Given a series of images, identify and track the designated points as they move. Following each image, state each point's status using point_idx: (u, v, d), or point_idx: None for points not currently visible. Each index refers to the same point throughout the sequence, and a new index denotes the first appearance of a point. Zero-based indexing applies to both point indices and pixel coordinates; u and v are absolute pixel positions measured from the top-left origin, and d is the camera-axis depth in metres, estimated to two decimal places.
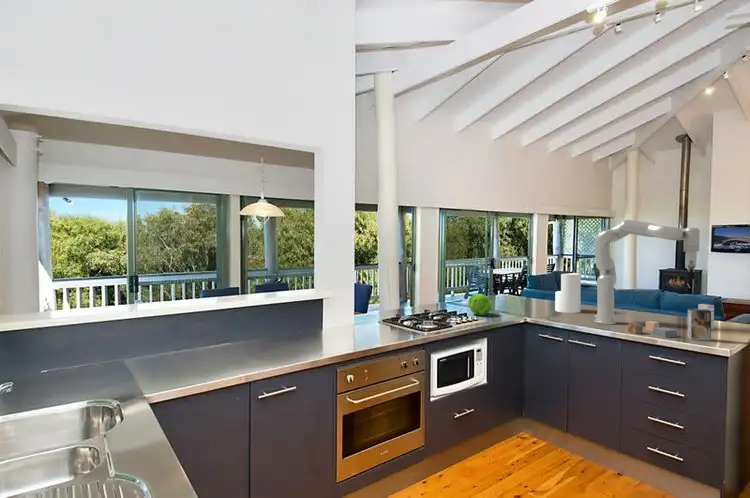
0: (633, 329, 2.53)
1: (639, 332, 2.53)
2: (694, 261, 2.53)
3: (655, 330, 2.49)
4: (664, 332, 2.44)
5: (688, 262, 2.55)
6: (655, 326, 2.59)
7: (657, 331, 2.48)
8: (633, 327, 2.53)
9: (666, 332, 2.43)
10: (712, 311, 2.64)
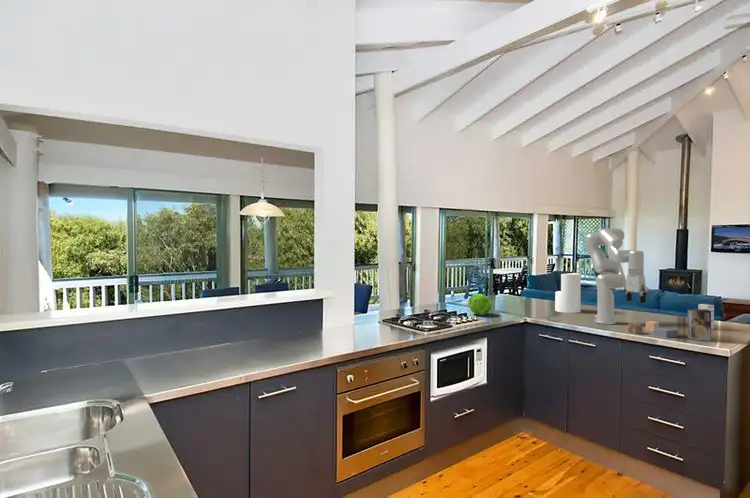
0: (633, 329, 2.53)
1: (639, 332, 2.53)
2: (644, 285, 2.50)
3: (656, 330, 2.49)
4: (665, 332, 2.43)
5: (641, 286, 2.49)
6: (655, 326, 2.59)
7: (658, 331, 2.48)
8: (633, 327, 2.53)
9: (667, 332, 2.43)
10: (712, 311, 2.64)
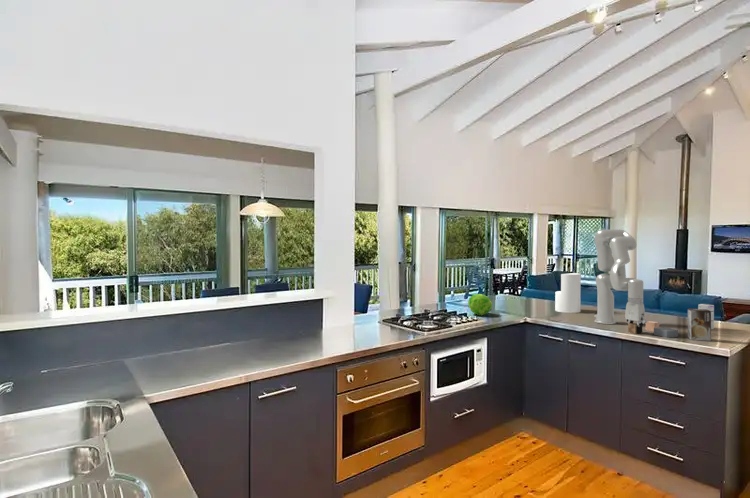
0: (633, 328, 2.53)
1: None
2: (644, 314, 2.51)
3: (656, 330, 2.49)
4: (666, 332, 2.43)
5: (640, 317, 2.50)
6: (655, 326, 2.59)
7: (658, 331, 2.47)
8: (633, 327, 2.53)
9: (668, 332, 2.43)
10: (712, 311, 2.64)
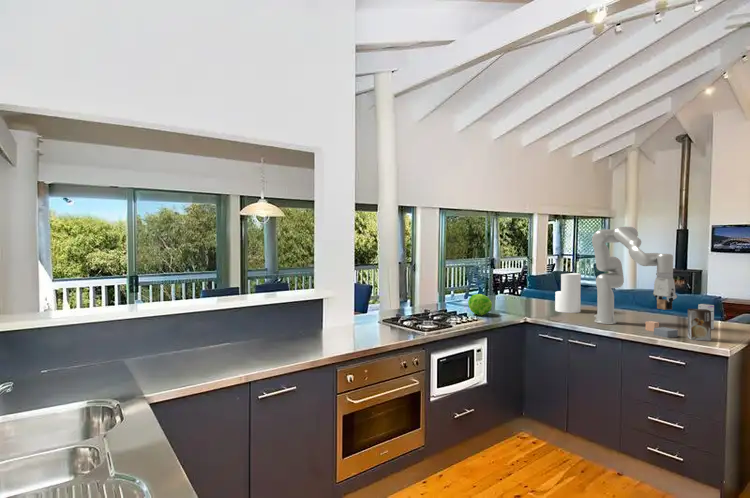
0: (662, 304, 2.46)
1: None
2: (674, 289, 2.43)
3: (656, 330, 2.48)
4: (666, 332, 2.43)
5: (670, 292, 2.42)
6: (655, 326, 2.59)
7: (658, 331, 2.47)
8: (662, 303, 2.46)
9: (668, 333, 2.43)
10: (712, 311, 2.64)
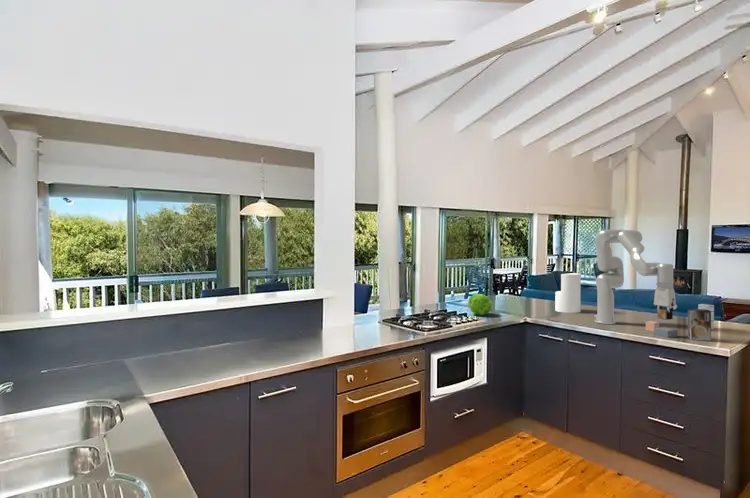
0: (663, 314, 2.46)
1: None
2: (675, 299, 2.43)
3: (656, 330, 2.48)
4: (666, 332, 2.43)
5: (671, 302, 2.42)
6: (655, 326, 2.59)
7: (659, 331, 2.47)
8: (663, 312, 2.46)
9: (668, 333, 2.43)
10: (712, 311, 2.64)
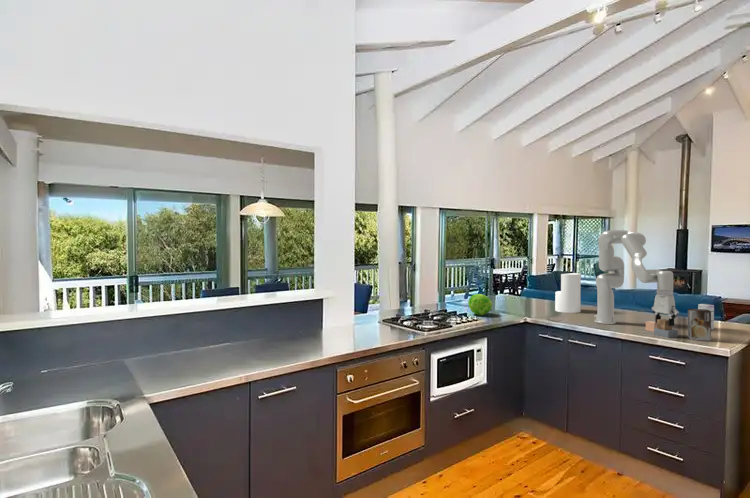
0: (662, 324, 2.46)
1: (669, 328, 2.46)
2: (674, 306, 2.43)
3: (657, 330, 2.48)
4: (667, 332, 2.43)
5: (670, 308, 2.42)
6: (655, 326, 2.59)
7: (659, 331, 2.47)
8: (662, 323, 2.46)
9: (669, 333, 2.43)
10: (712, 311, 2.64)
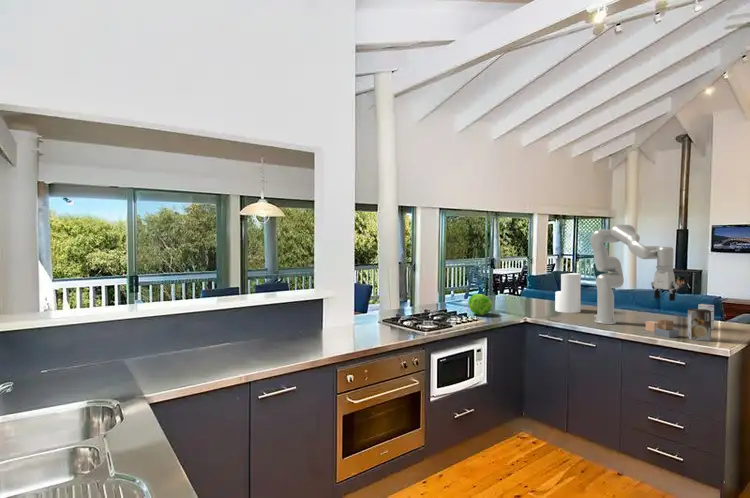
0: (663, 325, 2.46)
1: (670, 328, 2.45)
2: (674, 282, 2.43)
3: (657, 330, 2.48)
4: (668, 332, 2.43)
5: (670, 283, 2.42)
6: (655, 326, 2.59)
7: (660, 331, 2.47)
8: (663, 323, 2.46)
9: (670, 333, 2.43)
10: (712, 311, 2.64)
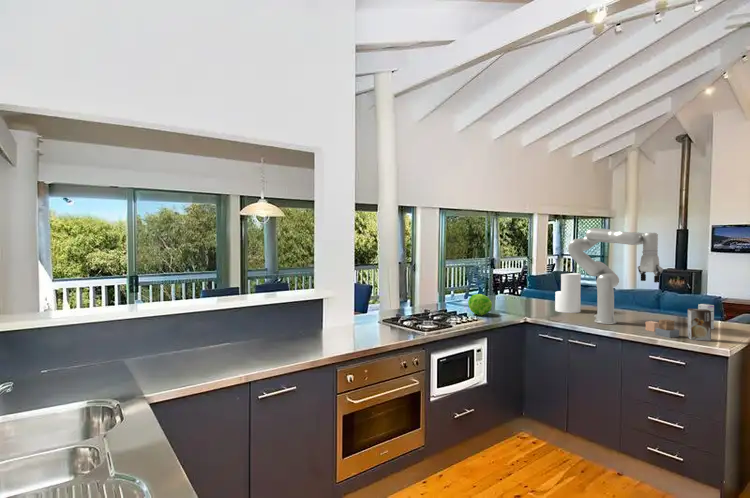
0: (664, 325, 2.46)
1: (671, 328, 2.45)
2: (658, 265, 2.62)
3: (658, 330, 2.48)
4: (668, 332, 2.43)
5: (655, 266, 2.61)
6: (655, 326, 2.59)
7: (660, 331, 2.47)
8: (664, 323, 2.46)
9: (670, 333, 2.43)
10: (712, 311, 2.64)
